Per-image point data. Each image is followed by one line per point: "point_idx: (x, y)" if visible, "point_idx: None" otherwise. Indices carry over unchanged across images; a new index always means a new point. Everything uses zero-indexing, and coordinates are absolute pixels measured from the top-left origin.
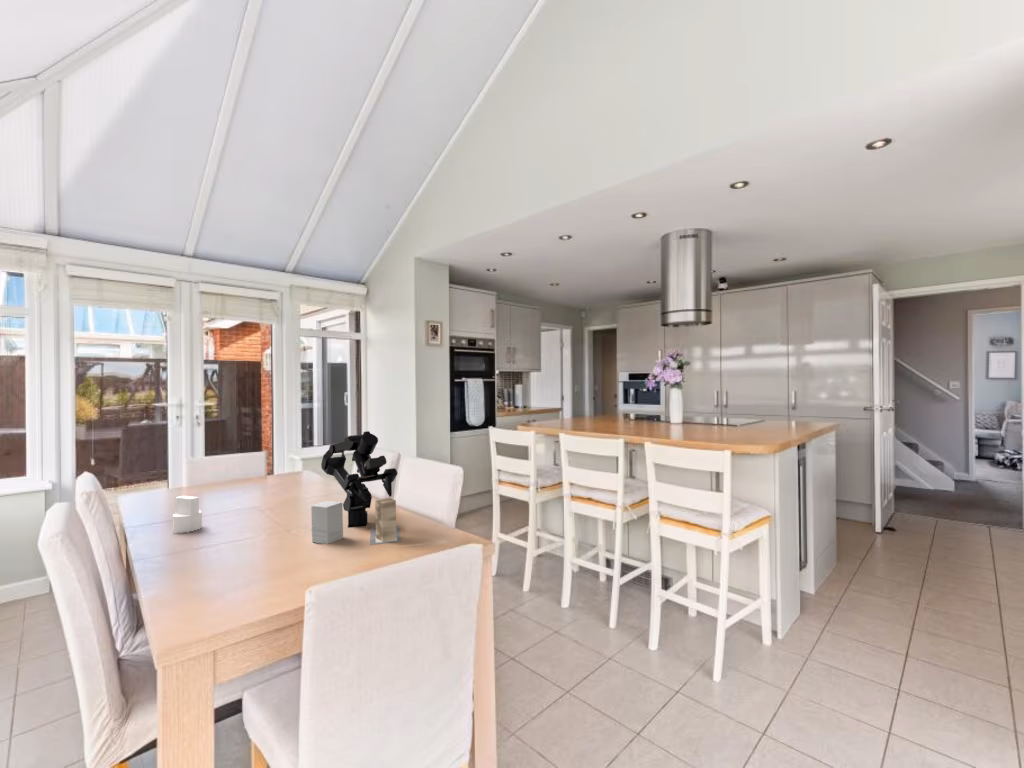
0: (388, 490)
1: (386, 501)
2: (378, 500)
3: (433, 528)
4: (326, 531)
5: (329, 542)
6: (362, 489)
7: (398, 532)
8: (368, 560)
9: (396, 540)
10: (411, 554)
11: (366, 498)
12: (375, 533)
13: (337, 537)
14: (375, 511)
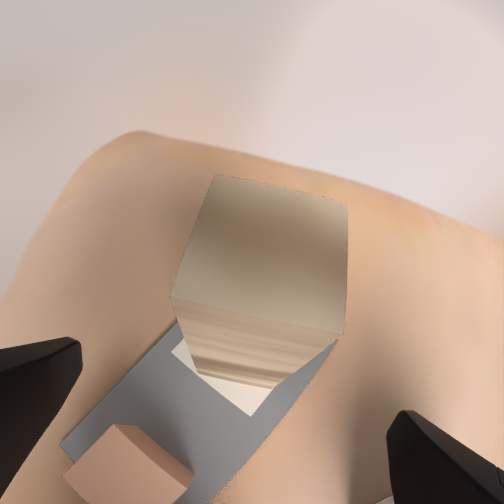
0: (31, 394)
1: (295, 205)
2: (324, 298)
3: (39, 278)
4: None
5: None
6: (494, 482)
7: (144, 363)
8: (396, 238)
9: None
10: (287, 176)
11: (413, 413)
12: (219, 453)
13: (388, 501)
14: (307, 362)
